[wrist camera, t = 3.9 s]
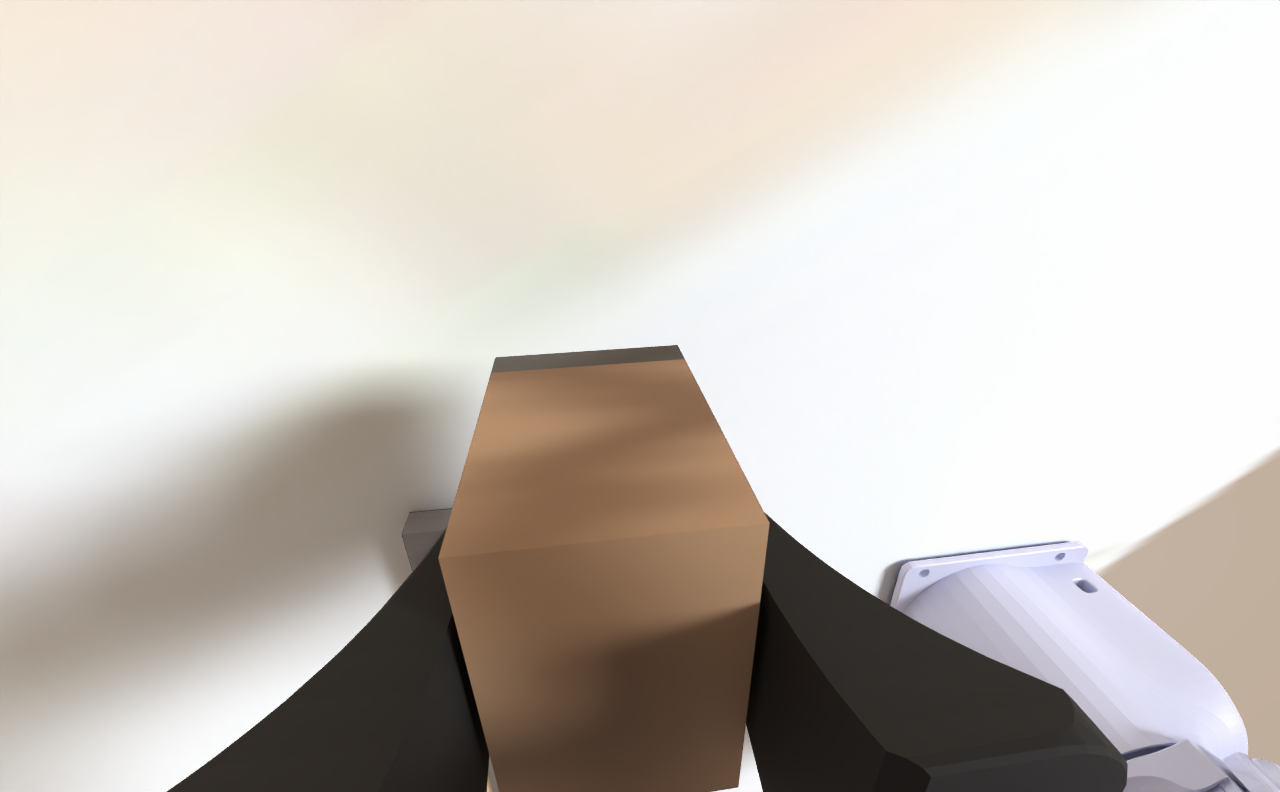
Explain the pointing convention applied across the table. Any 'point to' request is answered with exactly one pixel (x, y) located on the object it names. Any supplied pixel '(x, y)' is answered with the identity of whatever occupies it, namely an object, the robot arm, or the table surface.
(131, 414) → the table surface
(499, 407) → the brown rectangular block
